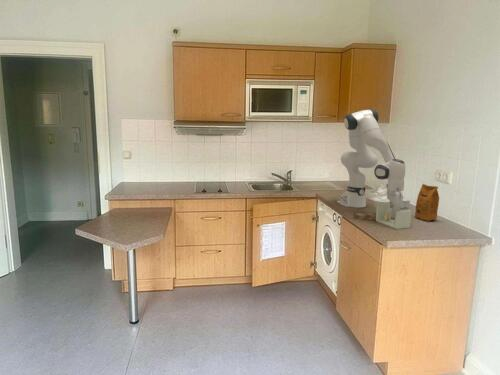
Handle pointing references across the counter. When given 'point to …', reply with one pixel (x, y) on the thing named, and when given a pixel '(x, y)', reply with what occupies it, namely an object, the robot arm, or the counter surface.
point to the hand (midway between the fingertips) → (393, 209)
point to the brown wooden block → (364, 216)
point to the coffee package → (427, 203)
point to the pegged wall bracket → (400, 220)
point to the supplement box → (401, 207)
